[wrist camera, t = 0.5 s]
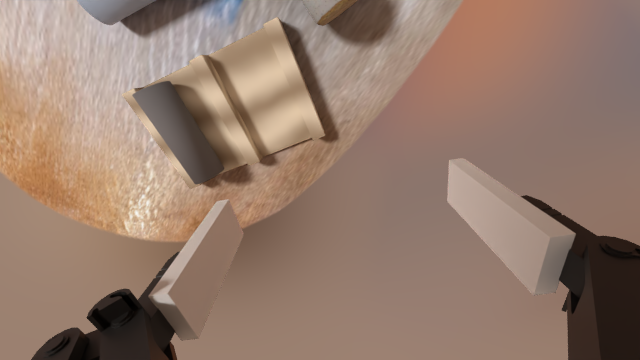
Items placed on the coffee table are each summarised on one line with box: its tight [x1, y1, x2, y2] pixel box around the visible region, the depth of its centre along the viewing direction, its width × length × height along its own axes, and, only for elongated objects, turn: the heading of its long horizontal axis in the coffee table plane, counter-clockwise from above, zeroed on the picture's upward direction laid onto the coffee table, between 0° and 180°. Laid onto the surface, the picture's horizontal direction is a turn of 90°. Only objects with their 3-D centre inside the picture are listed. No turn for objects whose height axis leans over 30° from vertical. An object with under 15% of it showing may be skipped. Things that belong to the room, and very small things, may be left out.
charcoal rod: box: [132, 81, 224, 184], centre depth 35 cm, size 14×5×5 cm, turn 22°
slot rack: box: [122, 17, 325, 189], centre depth 36 cm, size 16×24×3 cm, turn 112°
